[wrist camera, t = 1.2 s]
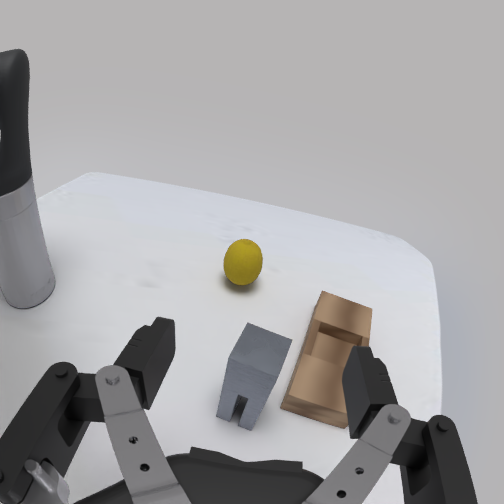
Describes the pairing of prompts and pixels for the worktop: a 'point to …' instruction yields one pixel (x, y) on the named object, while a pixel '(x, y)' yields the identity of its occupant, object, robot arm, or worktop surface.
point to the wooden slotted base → (327, 359)
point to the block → (252, 373)
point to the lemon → (243, 262)
